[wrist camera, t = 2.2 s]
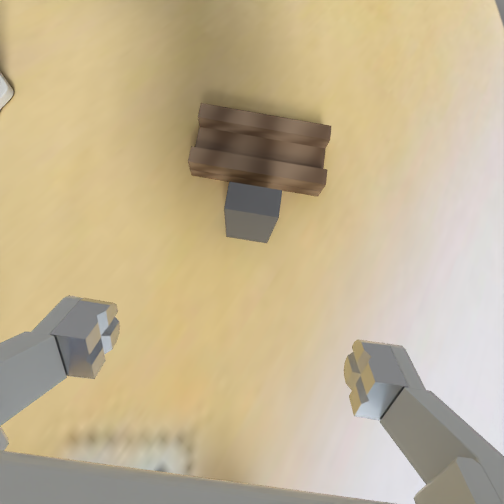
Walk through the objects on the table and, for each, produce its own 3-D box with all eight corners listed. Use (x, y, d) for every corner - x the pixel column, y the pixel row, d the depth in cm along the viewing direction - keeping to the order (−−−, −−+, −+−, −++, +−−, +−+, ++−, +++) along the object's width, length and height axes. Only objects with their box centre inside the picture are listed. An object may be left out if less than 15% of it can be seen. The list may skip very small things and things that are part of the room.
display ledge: (191, 175, 40) (187, 161, 36) (203, 120, 42) (201, 102, 38) (317, 196, 40) (325, 185, 37) (323, 141, 42) (331, 125, 39)
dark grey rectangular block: (266, 243, 38) (278, 217, 29) (226, 236, 38) (224, 208, 28) (269, 221, 39) (282, 189, 29) (230, 215, 39) (229, 181, 29)
